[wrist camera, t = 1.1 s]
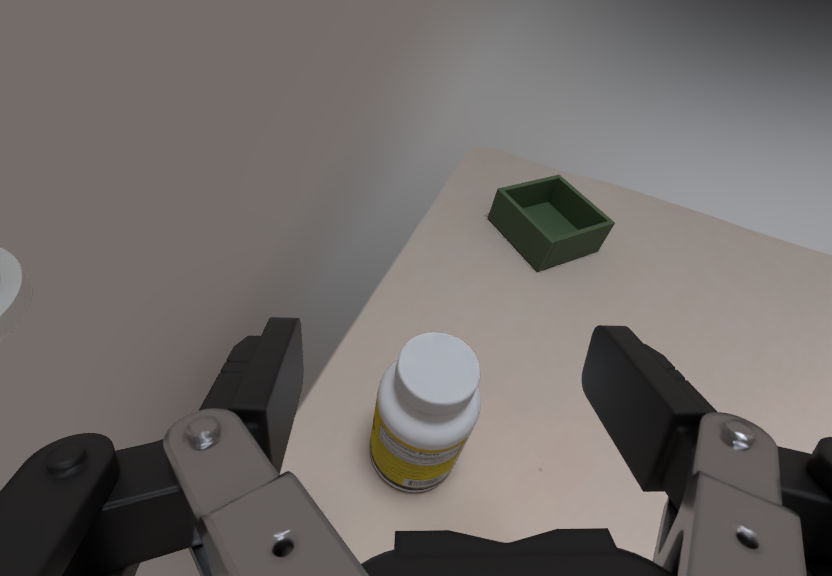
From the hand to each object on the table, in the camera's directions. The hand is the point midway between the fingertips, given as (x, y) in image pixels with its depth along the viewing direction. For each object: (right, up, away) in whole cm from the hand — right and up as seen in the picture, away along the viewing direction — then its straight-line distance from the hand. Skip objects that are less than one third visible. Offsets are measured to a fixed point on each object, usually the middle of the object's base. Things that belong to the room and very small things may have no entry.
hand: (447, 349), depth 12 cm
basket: (+12, +7, +33) cm, 36 cm away
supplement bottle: (-1, -9, +16) cm, 18 cm away
